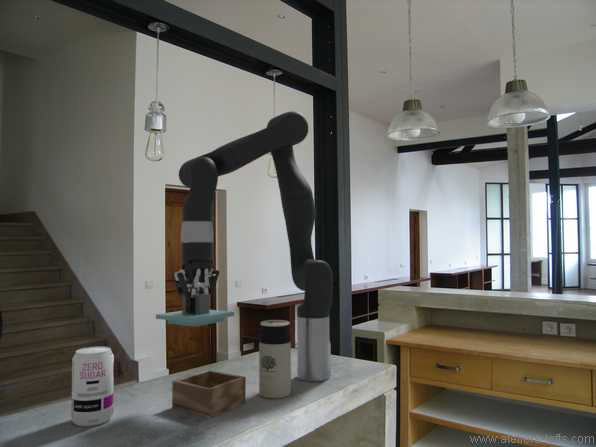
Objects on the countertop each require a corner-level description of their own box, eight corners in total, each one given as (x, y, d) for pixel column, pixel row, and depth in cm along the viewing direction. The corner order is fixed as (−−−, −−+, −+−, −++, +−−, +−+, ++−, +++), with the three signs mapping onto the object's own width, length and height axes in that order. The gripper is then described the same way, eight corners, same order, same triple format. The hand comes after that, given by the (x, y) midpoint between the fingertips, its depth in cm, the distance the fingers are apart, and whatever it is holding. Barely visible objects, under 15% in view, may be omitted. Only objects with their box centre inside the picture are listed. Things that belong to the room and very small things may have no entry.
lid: (196, 317, 121) (196, 291, 122) (234, 320, 114) (234, 293, 114) (155, 323, 110) (156, 295, 111) (195, 328, 103) (195, 297, 104)
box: (209, 393, 119) (209, 369, 119) (245, 402, 112) (245, 377, 112) (172, 407, 109) (172, 381, 109) (209, 417, 102) (209, 389, 102)
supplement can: (100, 410, 107) (101, 344, 107) (120, 419, 102) (121, 349, 102) (64, 421, 101) (65, 350, 101) (82, 430, 95) (84, 356, 96)
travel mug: (274, 387, 124) (274, 318, 125) (297, 393, 119) (297, 321, 120) (252, 394, 118) (252, 322, 119) (276, 401, 113) (275, 325, 114)
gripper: (206, 241, 121) (205, 308, 120) (163, 240, 109) (162, 315, 108) (228, 241, 117) (227, 311, 116) (186, 240, 105) (185, 318, 104)
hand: (196, 312), depth 112 cm, fingers closed on lid, 3 cm apart
